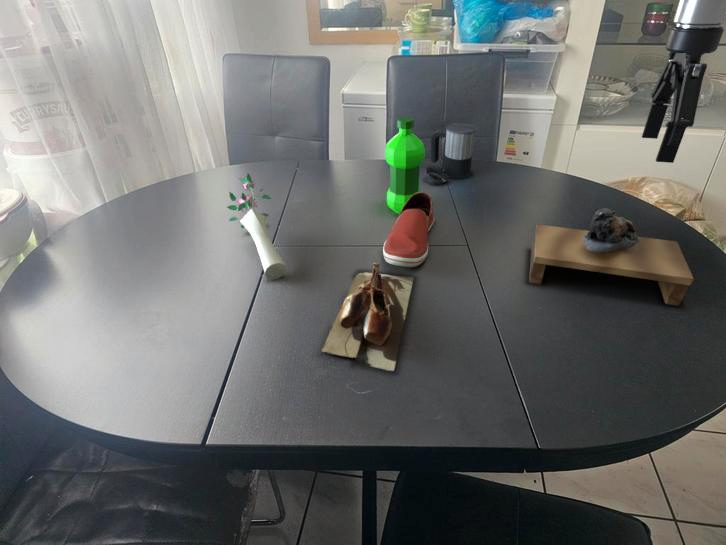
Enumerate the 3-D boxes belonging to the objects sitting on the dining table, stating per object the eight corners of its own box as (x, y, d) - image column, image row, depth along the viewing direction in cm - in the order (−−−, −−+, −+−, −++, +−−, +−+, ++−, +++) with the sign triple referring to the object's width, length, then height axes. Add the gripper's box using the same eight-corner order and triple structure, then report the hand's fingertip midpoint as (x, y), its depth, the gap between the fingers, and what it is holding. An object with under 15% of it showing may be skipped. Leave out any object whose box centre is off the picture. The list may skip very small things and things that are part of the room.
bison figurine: (614, 234, 97) (628, 191, 91) (643, 249, 91) (660, 205, 86) (573, 248, 93) (585, 204, 87) (601, 265, 87) (616, 219, 82)
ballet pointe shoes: (314, 335, 75) (351, 247, 97) (318, 363, 78) (353, 272, 101) (395, 343, 72) (414, 251, 94) (395, 371, 76) (414, 276, 98)
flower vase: (265, 304, 104) (230, 214, 125) (312, 280, 105) (269, 194, 126) (243, 275, 94) (209, 183, 115) (295, 249, 95) (252, 162, 117)
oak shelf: (665, 268, 98) (677, 241, 94) (679, 307, 87) (693, 278, 83) (530, 250, 105) (536, 224, 101) (528, 284, 95) (535, 256, 91)
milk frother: (472, 168, 147) (477, 123, 138) (470, 188, 134) (475, 140, 126) (428, 166, 150) (431, 121, 141) (423, 185, 137) (425, 138, 129)
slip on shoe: (372, 273, 100) (371, 239, 94) (402, 214, 122) (403, 184, 117) (419, 281, 97) (421, 246, 92) (441, 219, 119) (444, 188, 114)
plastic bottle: (417, 221, 119) (421, 126, 104) (380, 215, 122) (378, 123, 108) (426, 205, 126) (431, 115, 112) (391, 200, 130) (391, 112, 115)
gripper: (753, 35, 64) (696, 175, 76) (702, 16, 83) (663, 130, 96) (693, 36, 66) (647, 171, 78) (657, 17, 85) (624, 128, 98)
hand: (656, 149), depth 87 cm, fingers open, 13 cm apart
